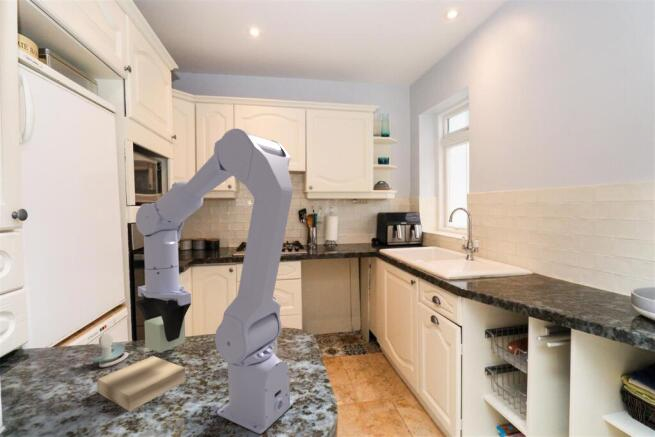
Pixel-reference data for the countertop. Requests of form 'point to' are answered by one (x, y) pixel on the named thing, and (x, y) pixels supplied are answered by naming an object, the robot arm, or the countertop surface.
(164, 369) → the block
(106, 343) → the pacifier
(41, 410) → the countertop surface
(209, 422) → the countertop surface
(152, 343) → the green cube
